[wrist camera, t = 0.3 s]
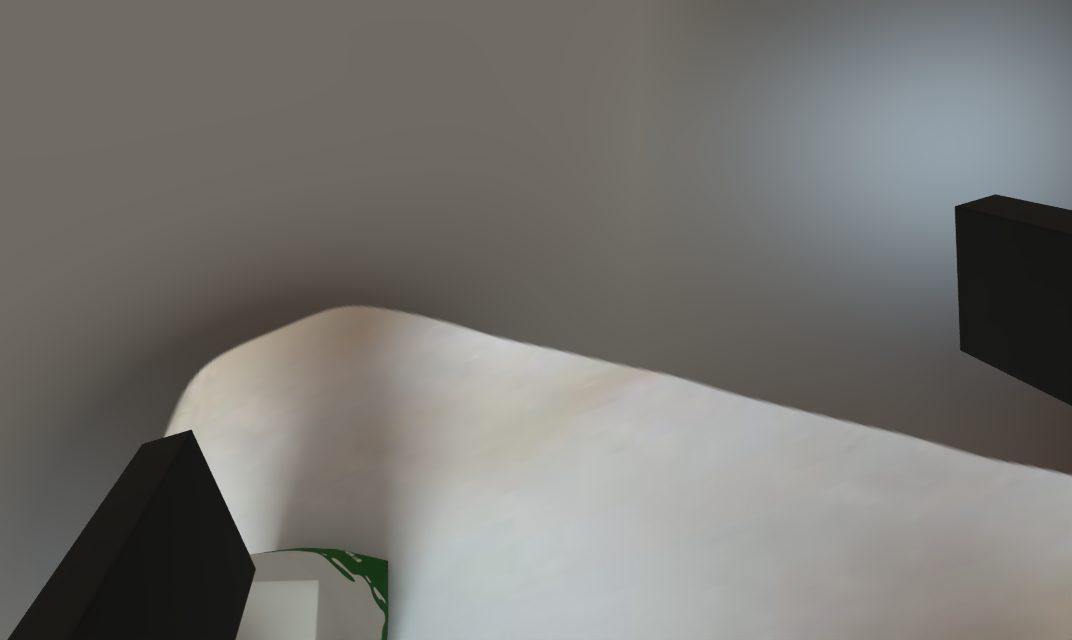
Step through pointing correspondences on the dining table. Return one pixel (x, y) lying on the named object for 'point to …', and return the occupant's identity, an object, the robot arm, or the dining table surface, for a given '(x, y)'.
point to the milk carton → (316, 596)
